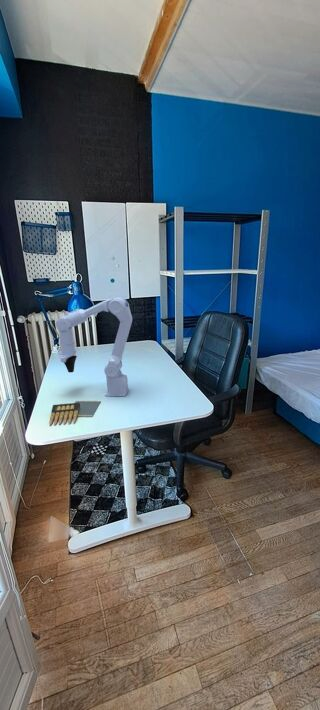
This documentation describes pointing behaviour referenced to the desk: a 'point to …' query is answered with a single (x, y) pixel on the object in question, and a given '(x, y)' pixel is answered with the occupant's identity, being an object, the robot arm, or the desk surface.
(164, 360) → the desk surface
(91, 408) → the mat
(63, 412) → the ammunition clip
